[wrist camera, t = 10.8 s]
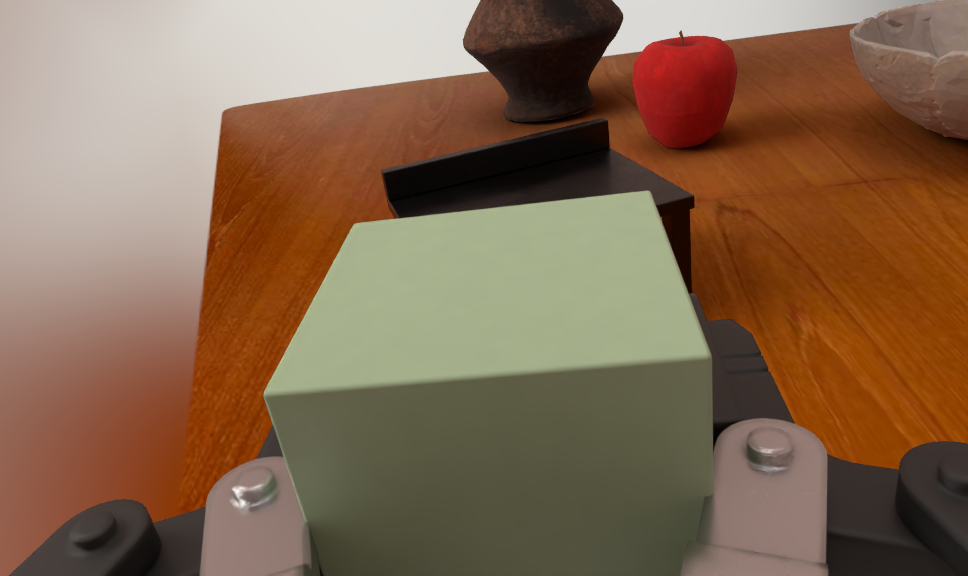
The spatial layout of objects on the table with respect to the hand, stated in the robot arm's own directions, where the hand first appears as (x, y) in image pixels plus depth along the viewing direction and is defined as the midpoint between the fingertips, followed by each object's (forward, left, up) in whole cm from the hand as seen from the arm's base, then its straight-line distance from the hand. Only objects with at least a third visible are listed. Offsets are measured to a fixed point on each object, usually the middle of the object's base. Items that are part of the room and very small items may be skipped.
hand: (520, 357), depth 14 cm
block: (-1, -3, -6) cm, 7 cm away
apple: (+35, +55, -18) cm, 68 cm away
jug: (+30, +77, -18) cm, 85 cm away
